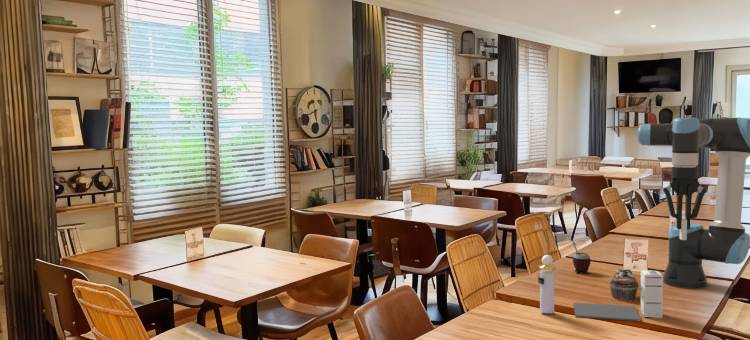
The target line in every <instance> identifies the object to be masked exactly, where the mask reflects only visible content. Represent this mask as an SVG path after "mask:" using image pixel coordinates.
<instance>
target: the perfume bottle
mask: <svg viewBox="0 0 750 340" xmlns="http://www.w3.org/2000/svg"><path fill="white" fill-rule="evenodd" d="M553 258H554V257H552V255H550V254H543V256H542V258H541V263H542V264H538V265H537V266H538V269H540V271H539V275H538V276H537V277H538V282H537V283H538V284H539V311H540V312H541V313H544V314H553V313H555V270H556V269H557V265H555V264H553V263H554V259H553Z"/></svg>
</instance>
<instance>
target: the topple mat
mask: <svg viewBox="0 0 750 340" xmlns="http://www.w3.org/2000/svg"><path fill="white" fill-rule="evenodd" d="M573 304H574V305H573ZM573 304H572V305H573V311H574V316H575V318H582V319H583V318H584V319H586V318H587V319H596V320H597V319H600V320H610V321H611V320H612V321H613V320H614V321H627V322H629V321H630V322H639V321H638V320H641V321H642V318H641V316H640V315H639V312H638V310H637V308H636V306H635V305H634V306H633V305H621V304H620V305H618V304H607V303H606V304H604V303H590V302H589V303H588V302H586V303H584V302H573ZM635 320H637V321H635Z"/></svg>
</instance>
